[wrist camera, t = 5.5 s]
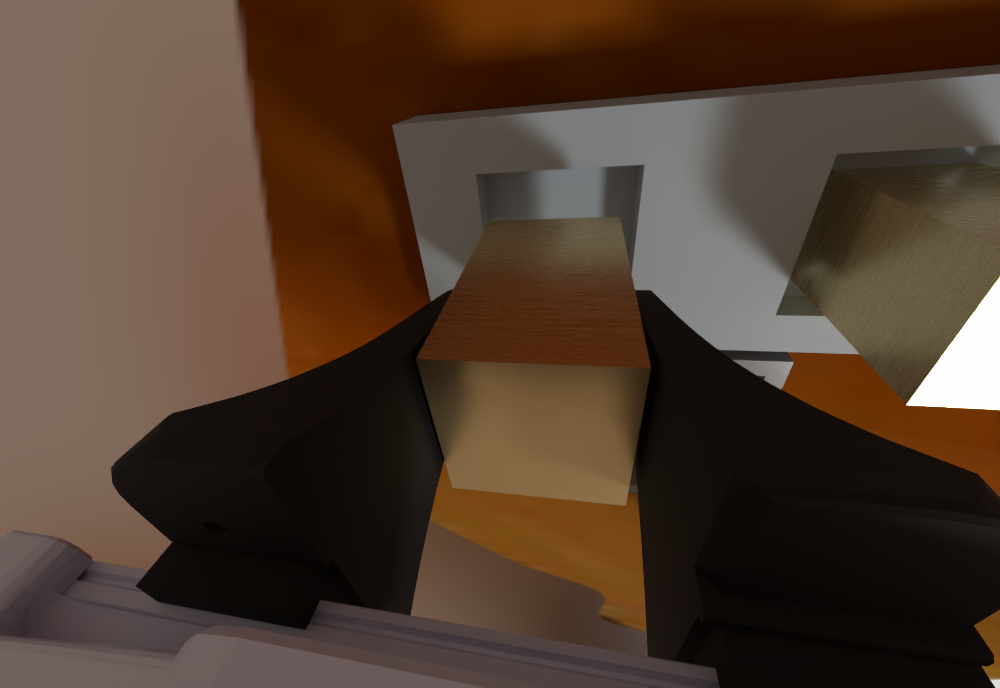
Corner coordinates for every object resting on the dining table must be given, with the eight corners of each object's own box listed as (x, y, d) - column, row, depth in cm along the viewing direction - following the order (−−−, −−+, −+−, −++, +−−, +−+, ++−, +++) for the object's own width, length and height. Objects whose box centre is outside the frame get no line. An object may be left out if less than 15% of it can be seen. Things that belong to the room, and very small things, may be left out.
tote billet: (609, 326, 14) (625, 505, 9) (501, 324, 15) (452, 487, 9) (619, 216, 12) (650, 367, 6) (490, 220, 12) (415, 359, 7)
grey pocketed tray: (962, 321, 16) (1015, 358, 14) (453, 313, 20) (439, 341, 18) (1157, 50, 11) (1283, 49, 9) (417, 115, 15) (391, 125, 13)
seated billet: (909, 278, 15) (1110, 415, 9) (790, 278, 15) (906, 404, 10) (977, 162, 12) (1303, 251, 7) (831, 169, 13) (1015, 255, 7)
